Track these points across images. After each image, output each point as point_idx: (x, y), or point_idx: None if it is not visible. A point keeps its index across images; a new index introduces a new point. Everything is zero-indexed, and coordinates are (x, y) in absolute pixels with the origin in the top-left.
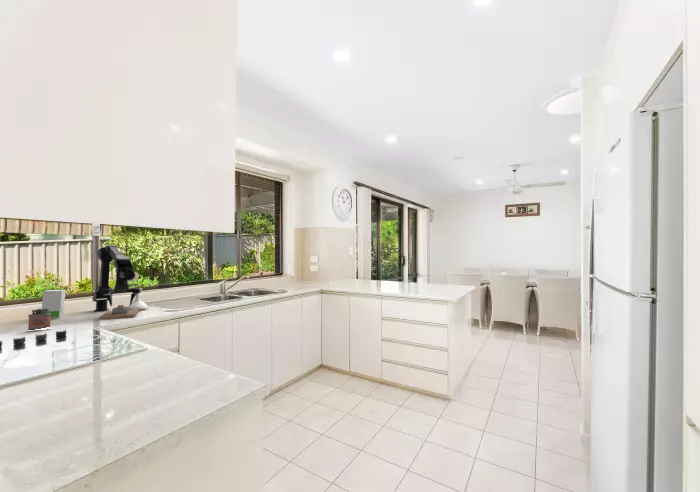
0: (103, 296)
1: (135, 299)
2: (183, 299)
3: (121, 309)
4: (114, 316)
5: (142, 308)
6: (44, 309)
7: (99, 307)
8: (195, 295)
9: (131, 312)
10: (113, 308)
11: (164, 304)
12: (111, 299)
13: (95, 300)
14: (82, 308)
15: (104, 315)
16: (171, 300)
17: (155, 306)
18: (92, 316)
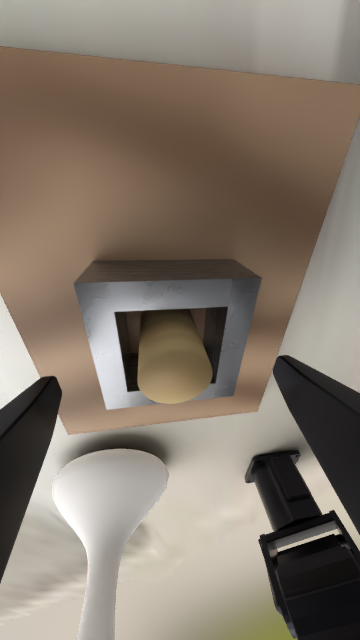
0: (321, 563)
1: (116, 554)
2: (14, 586)
3: (148, 276)
4: (197, 70)
5: (69, 463)
6: None
7: (291, 472)
8: (14, 610)
9: (66, 315)
10: (245, 329)
11: (37, 540)
12: (357, 467)
13: (339, 519)
14: (315, 491)
15: (300, 211)
16: (54, 574)
17: (56, 516)
18: (333, 334)
